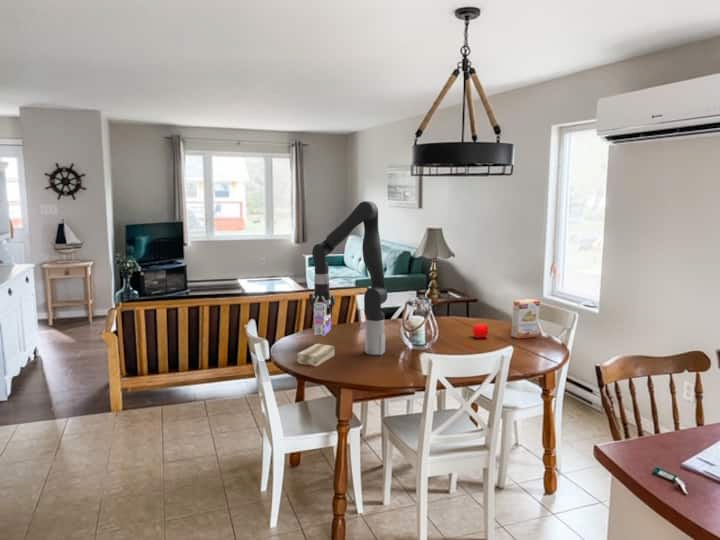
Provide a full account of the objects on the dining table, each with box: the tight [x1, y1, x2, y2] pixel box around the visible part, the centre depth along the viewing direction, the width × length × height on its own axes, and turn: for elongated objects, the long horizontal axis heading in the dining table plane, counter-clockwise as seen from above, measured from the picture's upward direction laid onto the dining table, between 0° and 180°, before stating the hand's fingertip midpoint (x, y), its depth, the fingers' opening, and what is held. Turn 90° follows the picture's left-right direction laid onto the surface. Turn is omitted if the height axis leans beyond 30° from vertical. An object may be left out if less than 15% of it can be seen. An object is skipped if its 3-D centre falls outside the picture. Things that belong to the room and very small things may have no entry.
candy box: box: [312, 299, 332, 337], centre depth 266 cm, size 14×6×16 cm, turn 169°
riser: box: [297, 343, 336, 367], centre depth 246 cm, size 10×18×5 cm, turn 155°
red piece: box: [472, 323, 489, 339], centre depth 288 cm, size 8×8×8 cm
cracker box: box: [510, 298, 541, 340], centre depth 290 cm, size 14×6×21 cm, turn 111°
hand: (322, 314), depth 266 cm, fingers closed on candy box, 6 cm apart
